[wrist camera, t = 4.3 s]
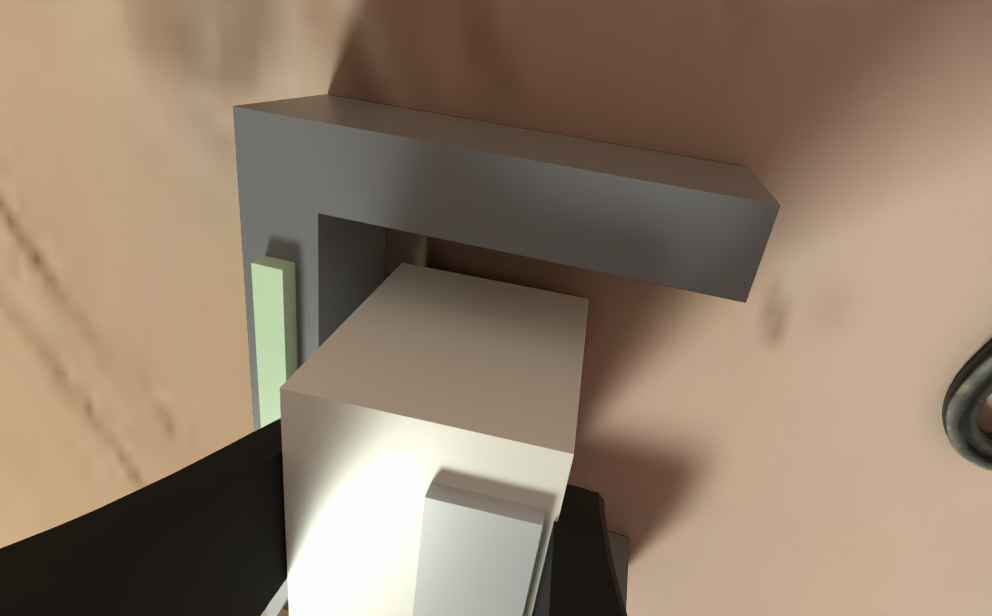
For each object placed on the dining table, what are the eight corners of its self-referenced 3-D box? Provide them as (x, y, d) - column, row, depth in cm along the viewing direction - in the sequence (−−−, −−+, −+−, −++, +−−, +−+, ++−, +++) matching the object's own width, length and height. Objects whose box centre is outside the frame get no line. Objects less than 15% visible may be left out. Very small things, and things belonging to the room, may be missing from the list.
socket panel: (747, 167, 11) (786, 212, 8) (554, 771, 19) (537, 903, 16) (325, 93, 12) (216, 108, 9) (325, 689, 21) (269, 797, 18)
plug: (588, 298, 12) (572, 469, 7) (547, 484, 14) (514, 710, 9) (402, 262, 12) (267, 400, 7) (390, 447, 14) (280, 645, 10)
